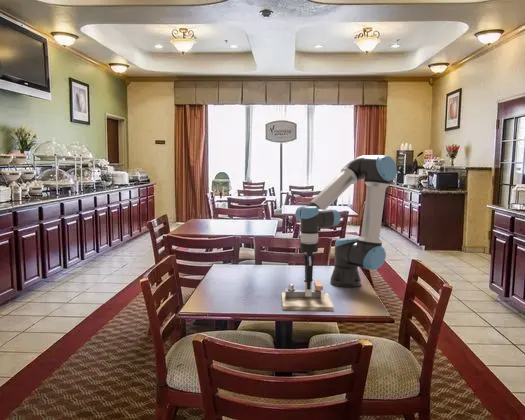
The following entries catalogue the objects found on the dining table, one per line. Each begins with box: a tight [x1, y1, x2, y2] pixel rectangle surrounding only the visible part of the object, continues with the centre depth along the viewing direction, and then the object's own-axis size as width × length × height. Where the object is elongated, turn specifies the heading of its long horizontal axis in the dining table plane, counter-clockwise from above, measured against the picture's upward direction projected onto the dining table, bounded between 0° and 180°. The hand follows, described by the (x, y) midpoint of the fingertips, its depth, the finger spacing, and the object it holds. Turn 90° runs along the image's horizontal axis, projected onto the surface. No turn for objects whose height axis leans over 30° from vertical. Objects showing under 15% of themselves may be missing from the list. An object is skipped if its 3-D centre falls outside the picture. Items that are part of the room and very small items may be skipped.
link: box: [284, 287, 322, 299], centre depth 204 cm, size 16×5×3 cm, turn 86°
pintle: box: [288, 283, 295, 299], centre depth 204 cm, size 5×5×6 cm
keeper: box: [313, 280, 324, 291], centre depth 205 cm, size 3×10×6 cm, turn 179°
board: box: [281, 291, 335, 311], centre depth 201 cm, size 21×20×2 cm
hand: (308, 295), depth 201 cm, fingers closed
